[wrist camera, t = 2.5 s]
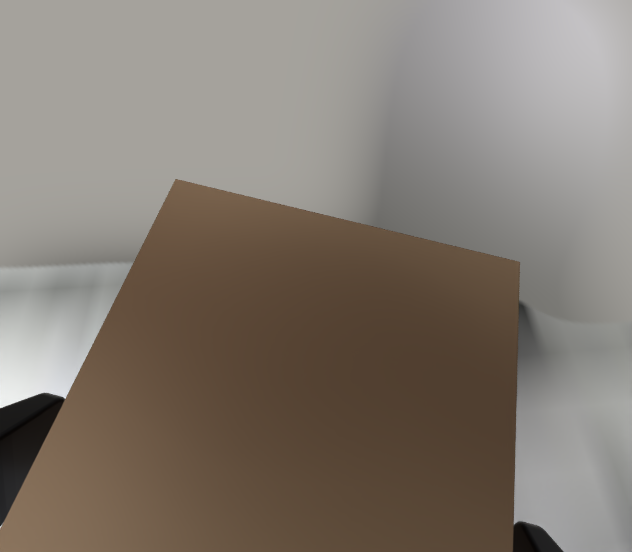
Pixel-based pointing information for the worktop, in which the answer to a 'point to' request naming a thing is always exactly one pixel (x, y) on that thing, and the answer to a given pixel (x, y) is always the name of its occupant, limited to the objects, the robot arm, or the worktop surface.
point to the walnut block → (286, 394)
